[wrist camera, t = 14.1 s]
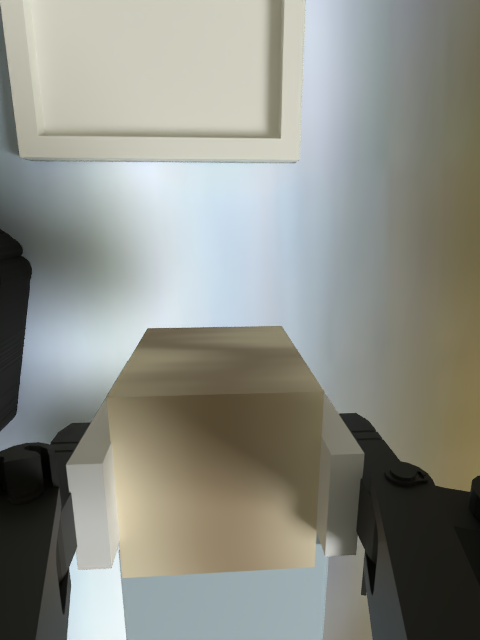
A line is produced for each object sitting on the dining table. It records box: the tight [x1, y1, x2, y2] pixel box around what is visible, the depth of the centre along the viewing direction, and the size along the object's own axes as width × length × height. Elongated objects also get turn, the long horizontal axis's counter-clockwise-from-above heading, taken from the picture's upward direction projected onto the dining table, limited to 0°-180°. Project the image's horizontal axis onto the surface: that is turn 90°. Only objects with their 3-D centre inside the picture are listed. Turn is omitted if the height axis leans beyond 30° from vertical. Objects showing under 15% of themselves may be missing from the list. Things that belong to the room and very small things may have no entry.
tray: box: [0, 0, 306, 163], centre depth 19 cm, size 14×14×1 cm
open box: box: [119, 534, 329, 640], centre depth 23 cm, size 9×9×9 cm
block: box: [107, 326, 324, 578], centre depth 13 cm, size 5×5×6 cm
